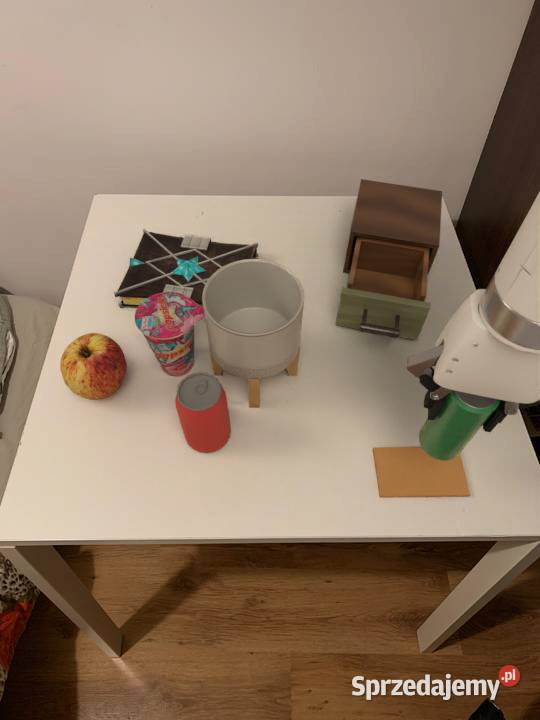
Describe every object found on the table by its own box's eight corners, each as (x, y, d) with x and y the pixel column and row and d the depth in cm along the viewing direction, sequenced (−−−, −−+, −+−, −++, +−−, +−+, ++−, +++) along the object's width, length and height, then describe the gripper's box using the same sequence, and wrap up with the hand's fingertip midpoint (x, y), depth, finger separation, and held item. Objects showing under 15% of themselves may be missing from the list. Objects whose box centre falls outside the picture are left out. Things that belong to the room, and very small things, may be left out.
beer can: (236, 419, 72) (232, 375, 62) (222, 460, 68) (215, 419, 58) (194, 408, 73) (183, 363, 63) (178, 448, 69) (164, 406, 59)
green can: (462, 426, 60) (501, 373, 51) (461, 465, 57) (503, 416, 48) (419, 417, 61) (450, 363, 51) (417, 455, 58) (449, 405, 48)
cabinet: (423, 286, 87) (439, 245, 80) (342, 272, 89) (350, 231, 81) (427, 233, 96) (442, 191, 88) (353, 221, 97) (361, 179, 89)
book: (258, 256, 91) (258, 235, 87) (240, 326, 82) (239, 306, 78) (146, 242, 93) (141, 221, 89) (116, 308, 84) (108, 288, 80)
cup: (164, 394, 74) (148, 347, 64) (142, 355, 78) (125, 305, 68) (218, 368, 77) (212, 320, 67) (195, 332, 81) (186, 281, 71)
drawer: (415, 360, 77) (429, 330, 71) (331, 344, 79) (337, 313, 72) (421, 281, 87) (434, 247, 80) (346, 268, 89) (353, 234, 82)
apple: (122, 416, 72) (103, 379, 64) (63, 407, 73) (38, 370, 65) (140, 365, 77) (125, 325, 69) (86, 358, 78) (64, 317, 70)
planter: (210, 407, 73) (197, 334, 58) (217, 338, 80) (206, 258, 66) (297, 408, 73) (305, 335, 58) (295, 339, 80) (302, 259, 66)
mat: (456, 448, 70) (458, 446, 69) (469, 496, 66) (470, 495, 65) (372, 449, 69) (373, 447, 69) (379, 497, 65) (380, 496, 65)
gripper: (638, 290, 40) (536, 401, 55) (427, 255, 42) (383, 371, 57) (658, 364, 36) (541, 462, 51) (422, 321, 38) (376, 428, 53)
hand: (458, 413), depth 54 cm, fingers closed on green can, 5 cm apart
